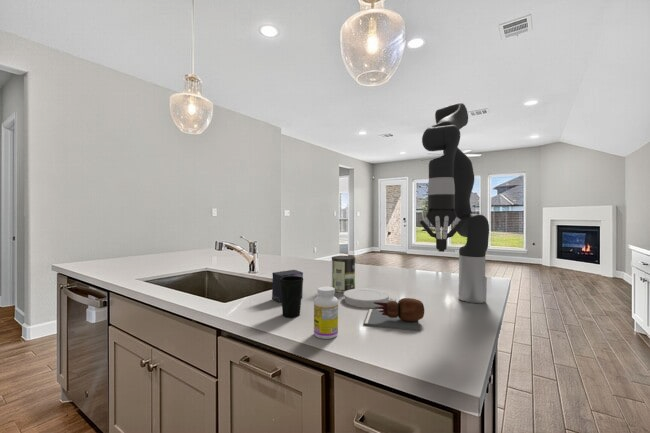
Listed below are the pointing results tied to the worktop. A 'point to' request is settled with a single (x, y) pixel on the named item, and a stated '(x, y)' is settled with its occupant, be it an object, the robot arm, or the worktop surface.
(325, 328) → the supplement bottle
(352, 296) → the lid
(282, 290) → the cup
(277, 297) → the small box
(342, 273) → the coffee can
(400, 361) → the worktop surface
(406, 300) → the wooden figurine
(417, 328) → the book
